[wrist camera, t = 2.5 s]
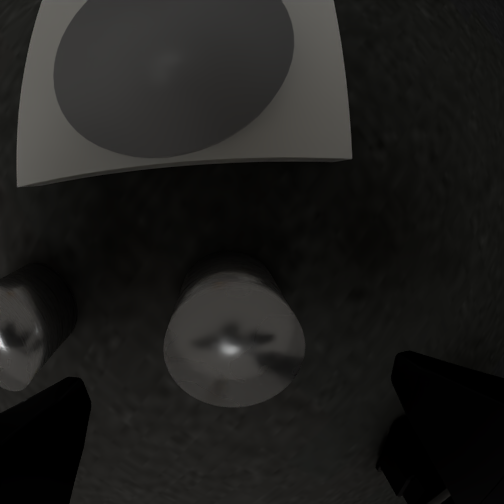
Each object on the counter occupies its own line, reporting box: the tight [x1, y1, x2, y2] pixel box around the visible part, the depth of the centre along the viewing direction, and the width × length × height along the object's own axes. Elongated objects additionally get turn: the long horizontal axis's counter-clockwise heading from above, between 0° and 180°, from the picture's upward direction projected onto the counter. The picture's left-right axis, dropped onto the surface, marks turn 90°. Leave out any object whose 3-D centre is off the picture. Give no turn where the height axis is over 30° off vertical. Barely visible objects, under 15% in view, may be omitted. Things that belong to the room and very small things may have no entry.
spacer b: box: [0, 263, 77, 391], centre depth 10 cm, size 4×4×5 cm
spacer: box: [164, 251, 305, 407], centre depth 11 cm, size 4×4×5 cm
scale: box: [17, 0, 352, 187], centre depth 9 cm, size 14×12×3 cm
